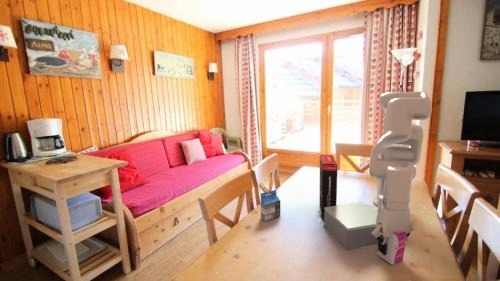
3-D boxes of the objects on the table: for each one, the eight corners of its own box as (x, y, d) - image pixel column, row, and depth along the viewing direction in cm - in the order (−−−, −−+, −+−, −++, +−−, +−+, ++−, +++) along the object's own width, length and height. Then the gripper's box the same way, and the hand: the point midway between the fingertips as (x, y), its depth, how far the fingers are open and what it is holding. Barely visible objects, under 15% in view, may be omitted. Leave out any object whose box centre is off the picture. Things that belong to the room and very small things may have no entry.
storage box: (360, 221, 108) (361, 205, 106) (387, 242, 92) (389, 224, 91) (323, 227, 104) (324, 210, 103) (345, 249, 89) (346, 230, 87)
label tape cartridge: (264, 221, 110) (264, 196, 108) (260, 217, 113) (259, 193, 111) (280, 216, 114) (280, 192, 112) (276, 213, 117) (276, 189, 115)
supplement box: (392, 266, 80) (395, 235, 77) (376, 256, 85) (379, 226, 83) (403, 261, 82) (407, 231, 80) (388, 251, 87) (390, 222, 85)
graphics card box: (336, 221, 108) (339, 163, 103) (320, 220, 110) (322, 163, 105) (331, 204, 125) (333, 154, 120) (317, 204, 126) (319, 153, 121)
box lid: (361, 203, 107) (361, 201, 106) (391, 223, 90) (391, 221, 90) (324, 209, 103) (324, 207, 103) (348, 230, 87) (348, 228, 87)
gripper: (408, 195, 85) (403, 241, 88) (364, 201, 81) (361, 248, 85) (427, 204, 78) (421, 254, 81) (381, 211, 74) (376, 262, 77)
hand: (390, 250), depth 83 cm, fingers closed on supplement box, 6 cm apart
